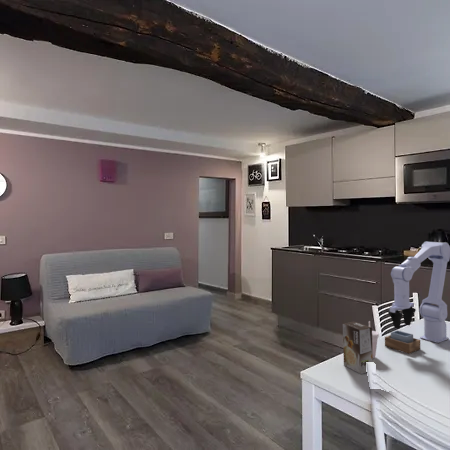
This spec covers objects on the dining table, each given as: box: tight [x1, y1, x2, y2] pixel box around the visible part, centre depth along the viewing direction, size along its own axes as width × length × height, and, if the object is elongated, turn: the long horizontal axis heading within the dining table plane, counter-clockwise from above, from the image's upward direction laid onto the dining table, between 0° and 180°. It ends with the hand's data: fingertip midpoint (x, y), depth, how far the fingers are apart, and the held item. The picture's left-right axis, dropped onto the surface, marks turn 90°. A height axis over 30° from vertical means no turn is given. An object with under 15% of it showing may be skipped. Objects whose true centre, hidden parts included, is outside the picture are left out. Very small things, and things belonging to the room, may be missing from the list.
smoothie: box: [368, 320, 380, 359], centre depth 141 cm, size 6×6×14 cm
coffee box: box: [342, 321, 374, 375], centre depth 131 cm, size 9×6×16 cm
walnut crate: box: [384, 334, 421, 355], centre depth 149 cm, size 9×11×4 cm
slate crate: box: [390, 329, 414, 343], centre depth 149 cm, size 5×7×6 cm
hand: (402, 326), depth 149 cm, fingers open, 7 cm apart
